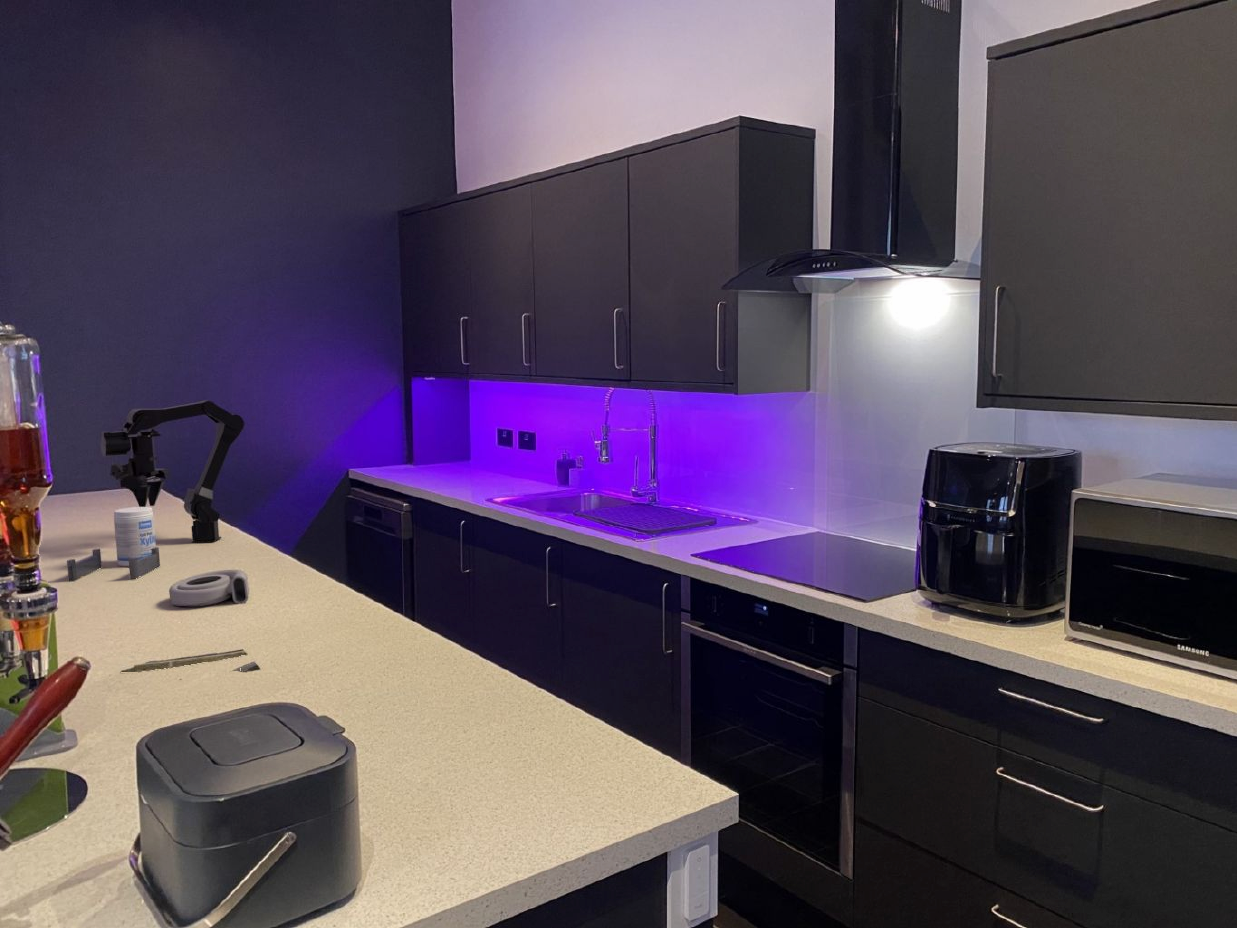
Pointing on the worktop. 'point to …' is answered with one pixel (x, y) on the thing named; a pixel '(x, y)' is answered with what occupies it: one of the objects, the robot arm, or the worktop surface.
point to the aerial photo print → (193, 662)
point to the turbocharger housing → (210, 588)
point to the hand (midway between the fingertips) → (147, 507)
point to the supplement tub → (134, 533)
